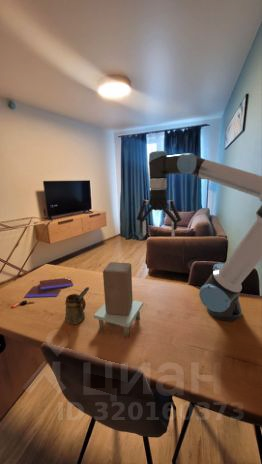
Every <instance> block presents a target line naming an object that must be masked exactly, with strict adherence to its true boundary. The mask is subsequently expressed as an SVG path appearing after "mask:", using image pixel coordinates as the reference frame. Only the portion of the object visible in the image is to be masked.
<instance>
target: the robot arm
mask: <svg viewBox="0 0 262 464" xmlns="http://www.w3.org/2000/svg"><path fill="white" fill-rule="evenodd" d="M148 155H149V156H148V157H149V158H148V168H149V169H148V171H149V173H148V175H149V179H148V183H149V189H150V190H149V199H148V200H147V199H144V200H142V204H141V208H140V209H139V212H138V215H137V217H136V221H140V228H141V229H142V236H146V235H147V220H146V219H147V218H148V216H149V215H150V214H151V212H152V211H153V210H154V211H163V212H165V214H166V215H167V216H168V218H170V220H171V221H172V222H171V238H174V237H175V234H176V233H175V231H176V230H177V229H178V222H179V223H180V222H181V221H182V218H181V215H180V213H179V211H178V209H177V207H176V205H175V200H174V199H171V200H170V199H169V200H168V194H167V192H168V190H167V187H168V183H167V182H168V177H167V176H168V175H187V174H189V175H192V176H195V177H199V178H202V179H205V180H207V181H210V182H214V183H216V184H218V185H222V186H224V187H227V188H230V189H234V190H237V191H239V192H241V193H245V194H248V195H250V196H252V197H255V198H258V200H259V201H260V203H262V175H259V174H256V173H253V172H249V171H246V170H244V169H243V170H242V169H239V168H236V167H232V166H229V165H226V164H222V163H218V162H215V161H213V160H210V159H205V158H202V157H200V156H197V155H195V154H194V153H191V152H190V153H189V152H187V153H186V152H184V153H181V154H180V153H179V154H172V155H168V152H167V151H165V150H154V151H151V152H149V154H148ZM148 205H149V206H150V207H149V208H148V209H147V211H146V212H145V210H146V208H147V206H148ZM167 205H169V206H170V208H171V210H172V212H173V213H172V212H171V211H170V209H169V208H168V206H167ZM255 214H256V221H255V222H254V223H253V225H251V227H250V229H249V230H248V231H247V233H246V234H245V235H244V237H243V238H242V239H241V241H240V242H239V243H238V245H237V246H236V248H235V249H234V250H233V252H232V253H231V254H230V256H229V257H228V258H227V259H226V261H225V262H224V263H220V262H219V263H215V264H213V267H212V273H211V275H209V277H208V279H207V280H206V282H205V283H204V284H203V285H201V286H200V289H199V292H198V296H199V299H200V301H201V303H202V305H204V307H206V311H207V312H208V313H209V315H211V316H212V317H214V318H216V319H218V320H220V321H226V322H231V321H232V322H233V321H234V320H235V321H238V320H239V319H240V318H241V317H242V313H243V312H242V311H243V310H242V306H241V303H240V298H239V297H240V293H241V291H242V289H243V286H242V283H243V282H244V280H246V278H247V277H248V276H249V275H250V273H251V272H252V271H253V270H254V269H255V268H256V267H257V265H258V264H259V263H260V262H261V260H262V204H261V205H260V207H259V208H258V210H257V211H256V212H255ZM237 319H238V320H237ZM235 321H234V322H235Z"/></svg>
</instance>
